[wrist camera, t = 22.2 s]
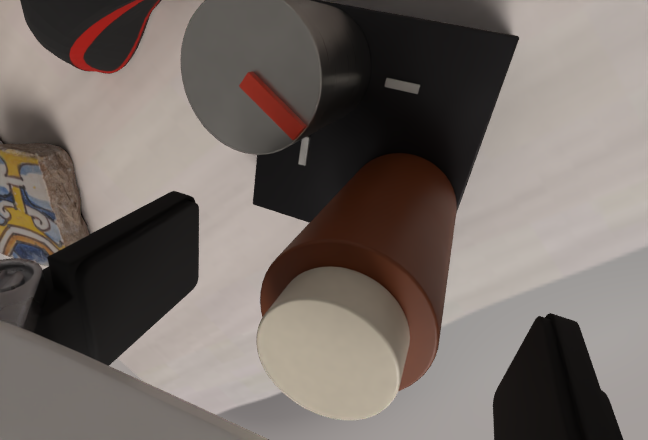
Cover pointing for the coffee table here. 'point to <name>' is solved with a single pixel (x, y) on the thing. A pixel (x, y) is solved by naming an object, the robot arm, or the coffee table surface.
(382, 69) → the dark grey dial base
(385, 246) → the spice bottle
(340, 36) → the knob
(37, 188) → the ceramic tile fragment
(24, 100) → the coffee table surface
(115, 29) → the computer mouse
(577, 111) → the coffee table surface
